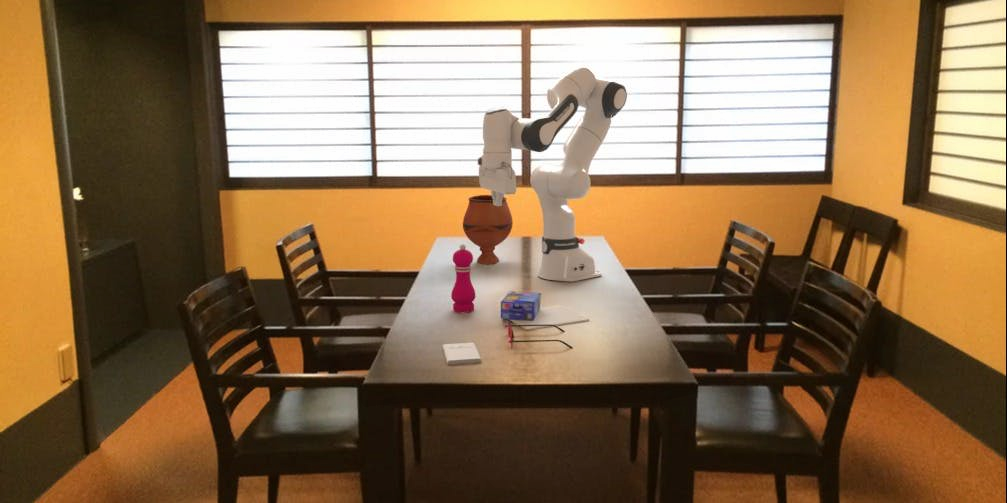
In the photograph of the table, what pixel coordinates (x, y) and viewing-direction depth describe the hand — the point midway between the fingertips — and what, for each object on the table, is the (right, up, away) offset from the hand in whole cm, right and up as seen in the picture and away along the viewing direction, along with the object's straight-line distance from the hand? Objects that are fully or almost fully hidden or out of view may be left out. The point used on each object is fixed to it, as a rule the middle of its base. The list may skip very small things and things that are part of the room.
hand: (497, 205), depth 236 cm
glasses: (+11, -38, -37) cm, 55 cm away
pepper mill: (-10, -32, -9) cm, 35 cm away
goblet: (-4, -19, +54) cm, 57 cm away
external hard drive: (-9, -41, -48) cm, 64 cm away
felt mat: (+14, -34, -18) cm, 40 cm away
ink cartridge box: (+8, -29, -10) cm, 32 cm away
